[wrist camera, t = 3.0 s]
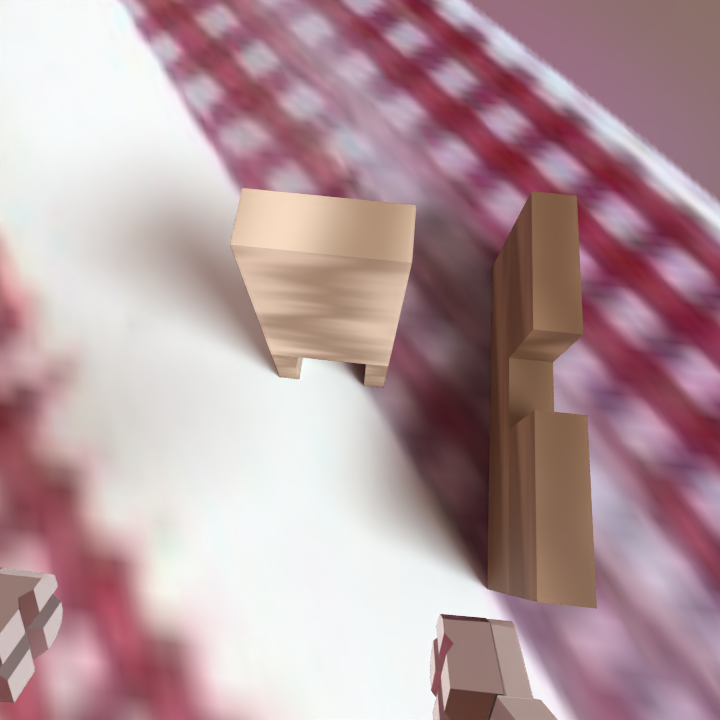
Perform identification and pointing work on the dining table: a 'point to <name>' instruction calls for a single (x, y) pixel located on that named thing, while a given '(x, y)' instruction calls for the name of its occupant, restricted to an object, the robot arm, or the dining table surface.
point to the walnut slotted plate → (538, 415)
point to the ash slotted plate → (325, 276)
